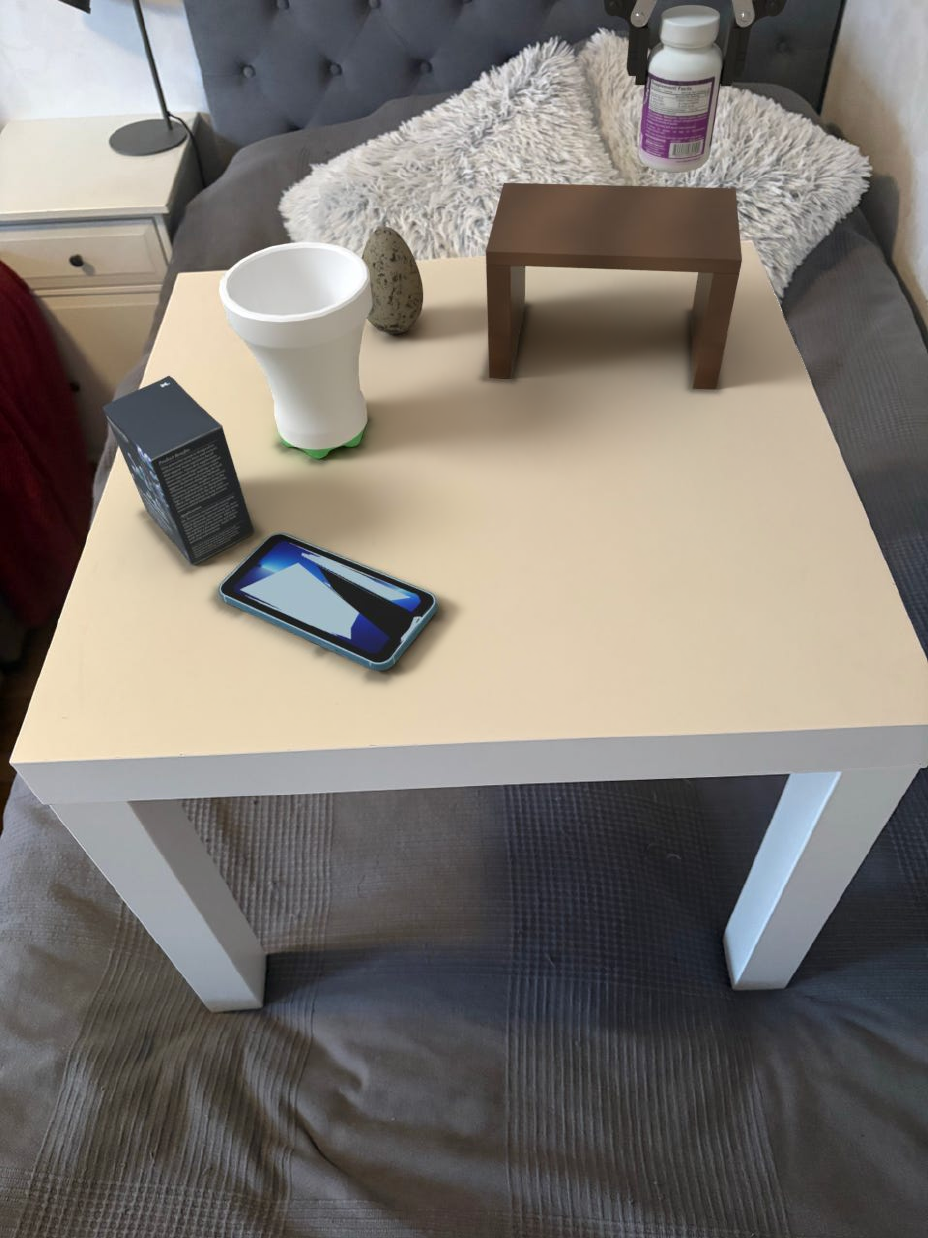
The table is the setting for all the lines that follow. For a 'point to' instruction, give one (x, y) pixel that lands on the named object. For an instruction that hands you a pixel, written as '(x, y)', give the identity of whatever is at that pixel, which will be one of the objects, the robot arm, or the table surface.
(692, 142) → the pill bottle
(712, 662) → the table surface
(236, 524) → the box
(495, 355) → the desk shelf
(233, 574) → the smartphone
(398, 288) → the decorative egg
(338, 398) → the cup
